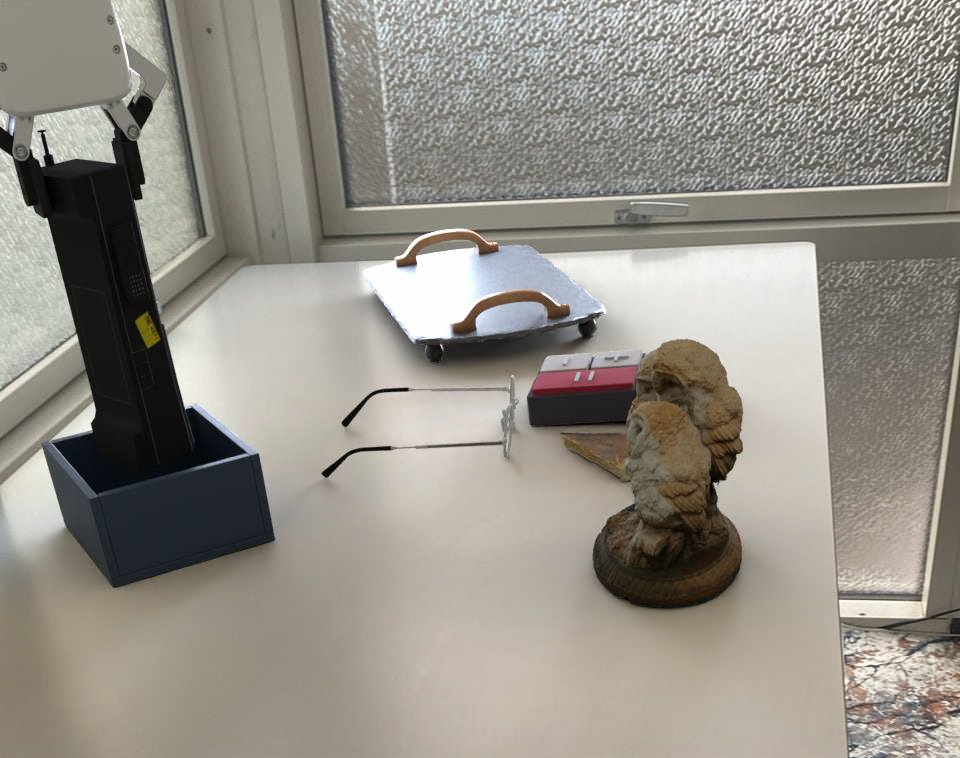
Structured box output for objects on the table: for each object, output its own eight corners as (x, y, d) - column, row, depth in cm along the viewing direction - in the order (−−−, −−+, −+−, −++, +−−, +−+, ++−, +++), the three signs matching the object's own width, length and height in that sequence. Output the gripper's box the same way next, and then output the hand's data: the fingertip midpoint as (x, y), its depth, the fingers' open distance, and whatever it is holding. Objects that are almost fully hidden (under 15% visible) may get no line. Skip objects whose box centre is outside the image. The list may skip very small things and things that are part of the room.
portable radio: (207, 453, 114) (139, 125, 99) (150, 477, 111) (71, 141, 96) (153, 436, 118) (80, 120, 103) (97, 458, 115) (13, 135, 100)
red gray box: (542, 352, 138) (688, 341, 135) (546, 393, 141) (689, 384, 137) (524, 389, 130) (680, 379, 126) (529, 433, 132) (681, 423, 129)
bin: (113, 588, 111) (88, 499, 106) (65, 525, 122) (40, 442, 117) (275, 540, 116) (259, 453, 111) (214, 484, 127) (197, 403, 122)
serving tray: (358, 287, 177) (351, 237, 173) (525, 261, 180) (522, 211, 176) (421, 375, 147) (415, 317, 143) (620, 342, 150) (620, 284, 146)
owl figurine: (592, 513, 115) (586, 308, 104) (731, 507, 113) (739, 298, 103) (593, 613, 100) (586, 387, 90) (751, 607, 99) (763, 377, 89)
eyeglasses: (518, 474, 123) (514, 420, 120) (319, 484, 125) (311, 432, 122) (524, 411, 135) (521, 362, 132) (344, 422, 137) (336, 373, 134)
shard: (560, 447, 127) (559, 429, 126) (629, 429, 129) (629, 410, 128) (618, 484, 119) (618, 465, 118) (691, 464, 121) (691, 444, 120)
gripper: (126, -92, 97) (180, 178, 108) (-118, -64, 91) (-35, 219, 102) (158, -92, 91) (211, 192, 102) (-99, -61, 86) (-13, 237, 97)
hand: (88, 203), depth 102 cm, fingers closed on portable radio, 6 cm apart
